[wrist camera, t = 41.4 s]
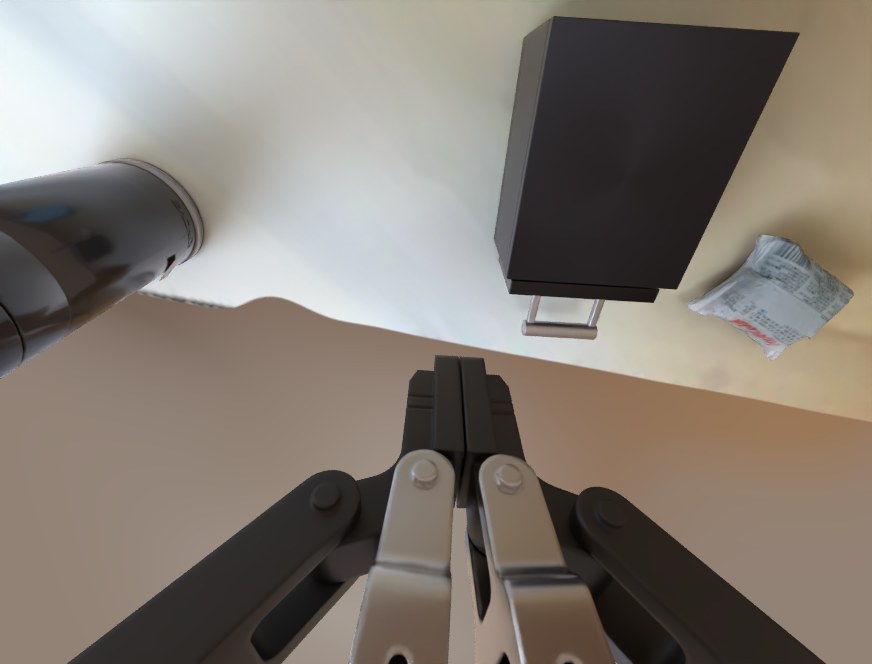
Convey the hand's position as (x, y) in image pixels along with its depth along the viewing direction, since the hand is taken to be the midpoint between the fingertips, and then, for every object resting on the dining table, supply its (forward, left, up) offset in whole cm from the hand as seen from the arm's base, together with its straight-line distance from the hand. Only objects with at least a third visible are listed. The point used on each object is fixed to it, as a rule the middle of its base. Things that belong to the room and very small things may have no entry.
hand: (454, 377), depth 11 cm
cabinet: (+11, +4, -24) cm, 26 cm away
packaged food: (+31, -7, -24) cm, 40 cm away
